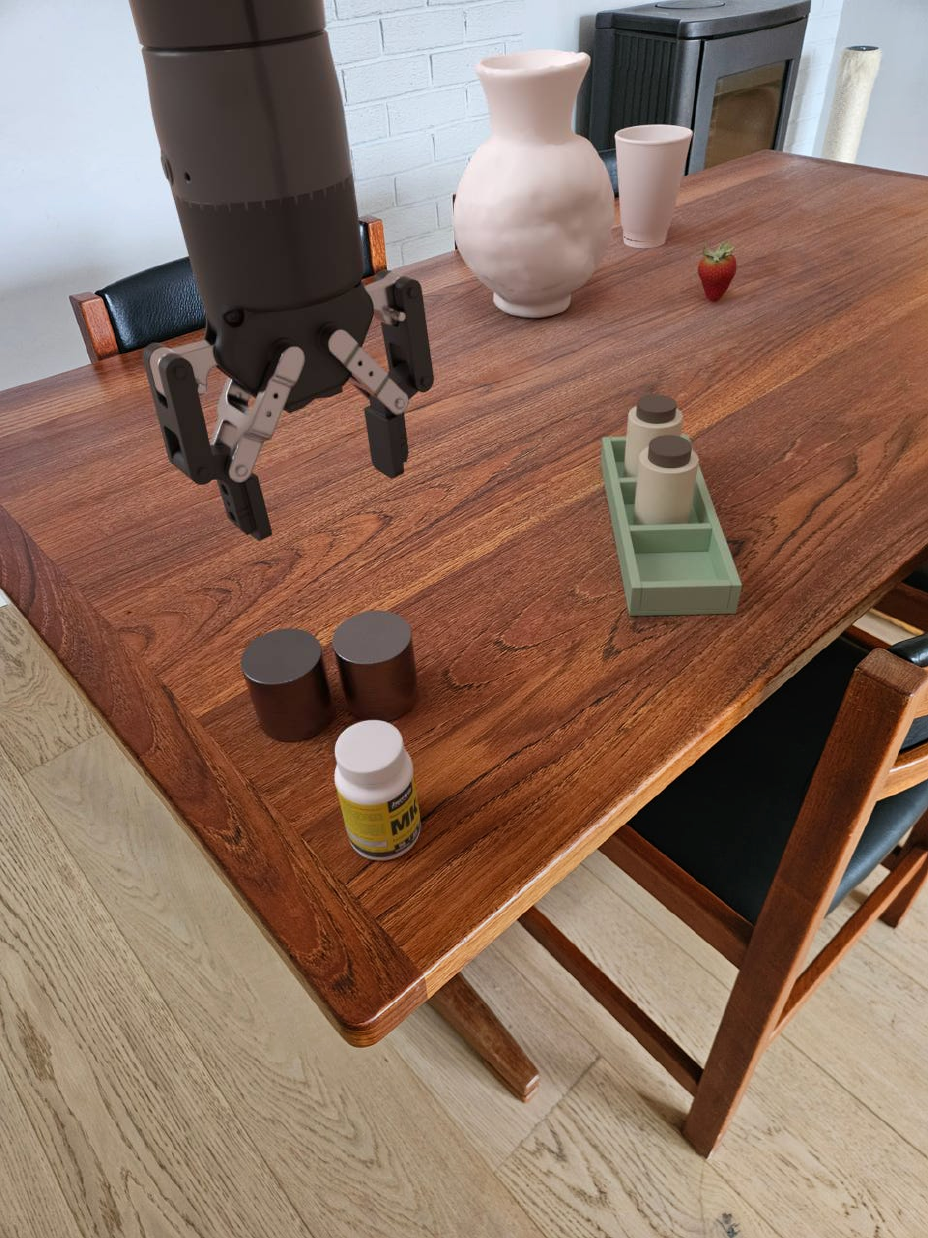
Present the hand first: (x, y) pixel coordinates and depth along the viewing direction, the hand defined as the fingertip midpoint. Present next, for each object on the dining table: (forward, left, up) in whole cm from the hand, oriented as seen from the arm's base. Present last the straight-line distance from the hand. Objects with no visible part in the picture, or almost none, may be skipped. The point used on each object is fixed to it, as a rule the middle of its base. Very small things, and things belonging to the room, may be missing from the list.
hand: (326, 500), depth 45 cm
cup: (+11, -113, -21) cm, 115 cm away
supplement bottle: (-4, +6, -21) cm, 22 cm away
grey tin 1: (+7, -1, -21) cm, 22 cm away
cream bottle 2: (-12, -33, -20) cm, 40 cm away
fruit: (-5, -90, -21) cm, 92 cm away
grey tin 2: (+2, -5, -21) cm, 21 cm away
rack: (-12, -33, -21) cm, 40 cm away
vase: (+19, -81, -21) cm, 85 cm away
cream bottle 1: (-9, -40, -20) cm, 45 cm away
